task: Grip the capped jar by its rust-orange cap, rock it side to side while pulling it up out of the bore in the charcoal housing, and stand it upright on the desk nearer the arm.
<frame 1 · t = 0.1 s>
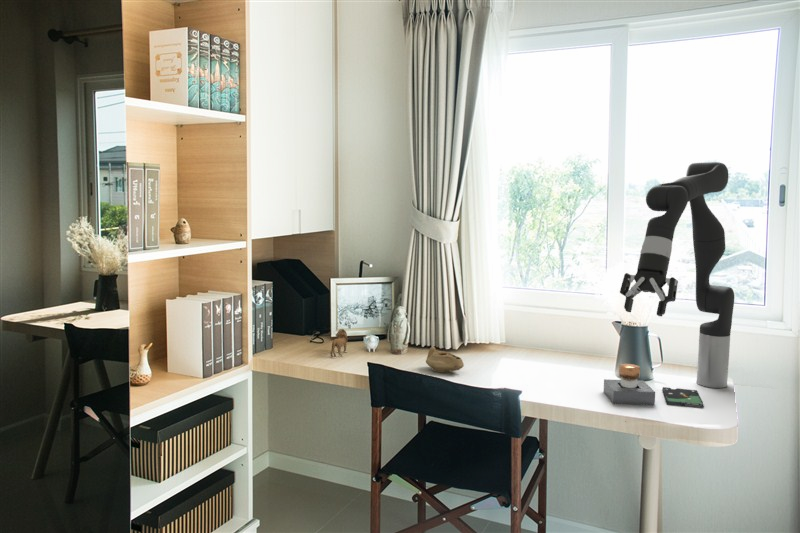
hand: (643, 313, 172), 31 cm above the table, tool tilted 20°, fingers open, 8 cm apart
oil lamp: (445, 371, 230), on the table
capped jar: (628, 398, 197), point 1 cm above the table, touching housing
lion figurine: (338, 354, 254), on the table
housing: (628, 401, 197), on the table
disk drive: (681, 404, 197), on the table
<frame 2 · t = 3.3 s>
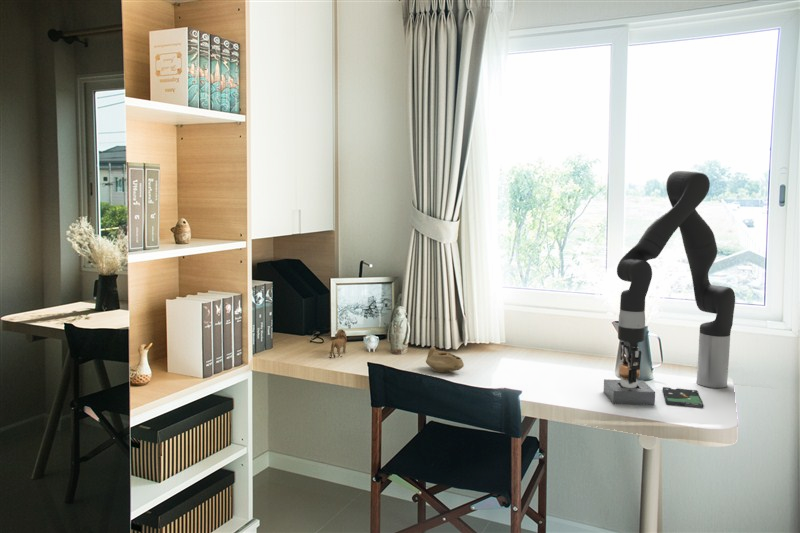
hand: (629, 378, 196), 7 cm above the table, tool pointing down, fingers closed on capped jar, 6 cm apart
capped jar: (628, 398, 197), point 1 cm above the table, touching gripper, housing
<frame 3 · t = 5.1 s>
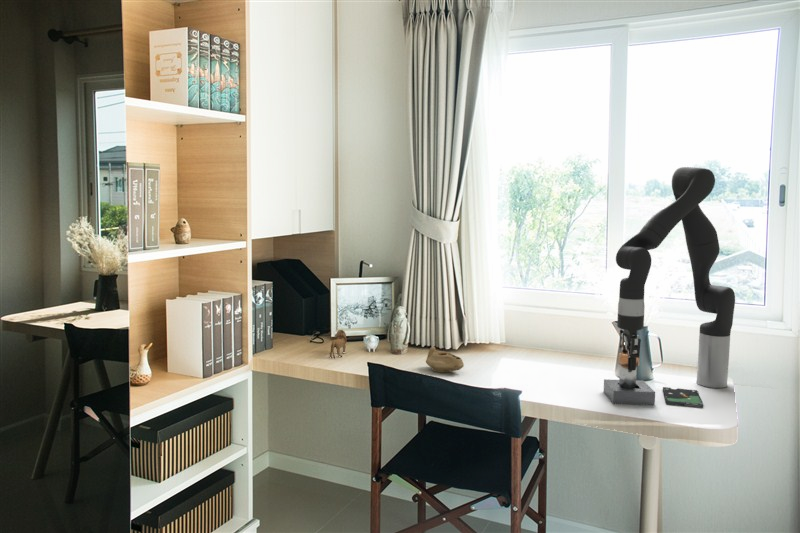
hand: (628, 366, 196), 11 cm above the table, tool pointing down, fingers closed on capped jar, 6 cm apart
capped jar: (627, 386, 197), point 5 cm above the table, touching gripper
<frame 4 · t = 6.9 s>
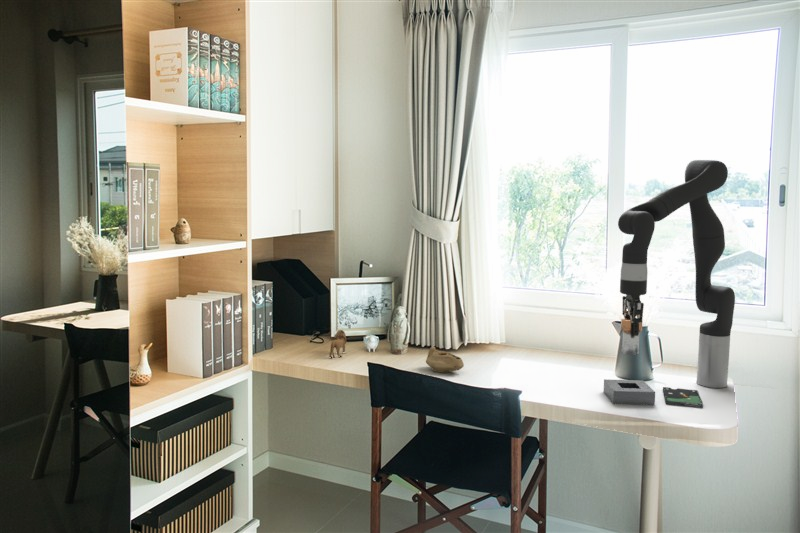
hand: (631, 332, 195), 21 cm above the table, tool pointing down, fingers closed on capped jar, 6 cm apart
capped jar: (630, 352, 196), point 15 cm above the table, touching gripper
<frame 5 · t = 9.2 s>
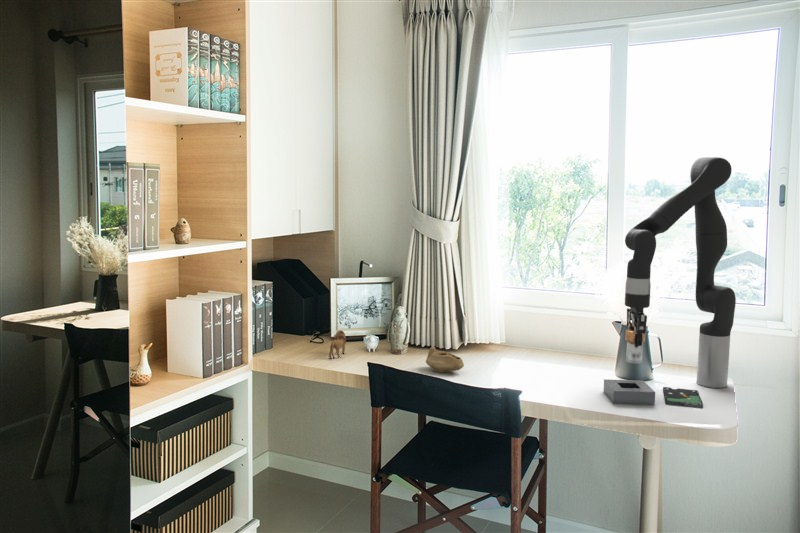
hand: (635, 343, 208), 15 cm above the table, tool pointing down, fingers closed on capped jar, 6 cm apart
capped jar: (633, 361, 209), point 9 cm above the table, touching gripper
when the fingers open (8 cm above the table, at t = 11.0 s): capped jar drops 2 cm, on the table.
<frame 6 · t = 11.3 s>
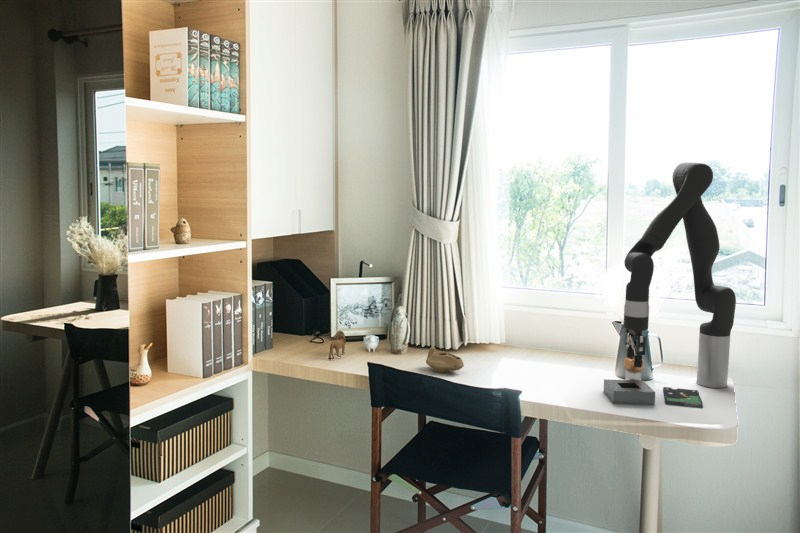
hand: (633, 363, 209), 9 cm above the table, tool pointing down, fingers open, 8 cm apart
capped jar: (632, 389, 210), on the table
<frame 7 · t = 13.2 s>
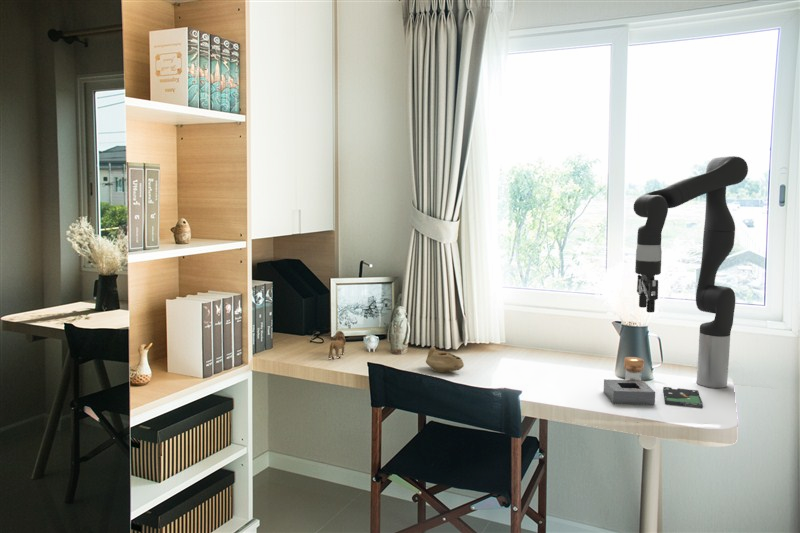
hand: (646, 309, 204), 27 cm above the table, tool pointing down, fingers open, 8 cm apart
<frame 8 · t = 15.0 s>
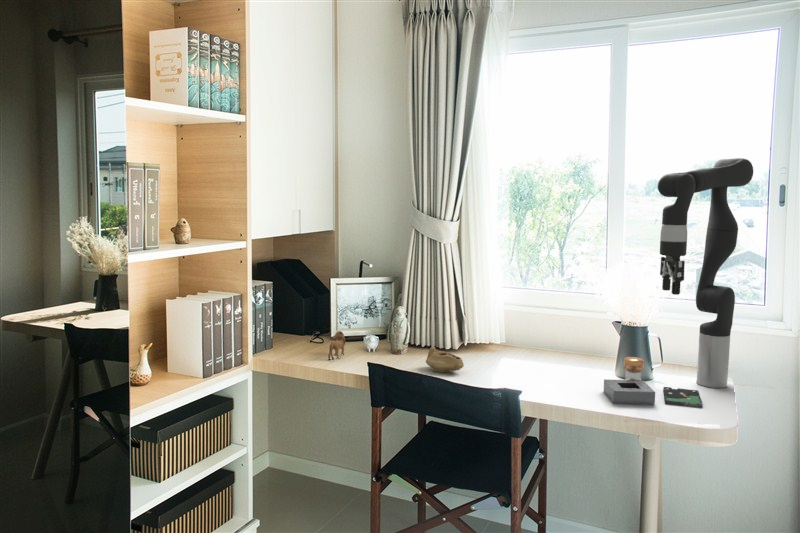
hand: (670, 292, 198), 33 cm above the table, tool pointing down, fingers open, 8 cm apart
at the end: capped jar inside the target area (0.1 cm from its centre), on the table; capped jar tilted 0°; capped jar touching table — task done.
